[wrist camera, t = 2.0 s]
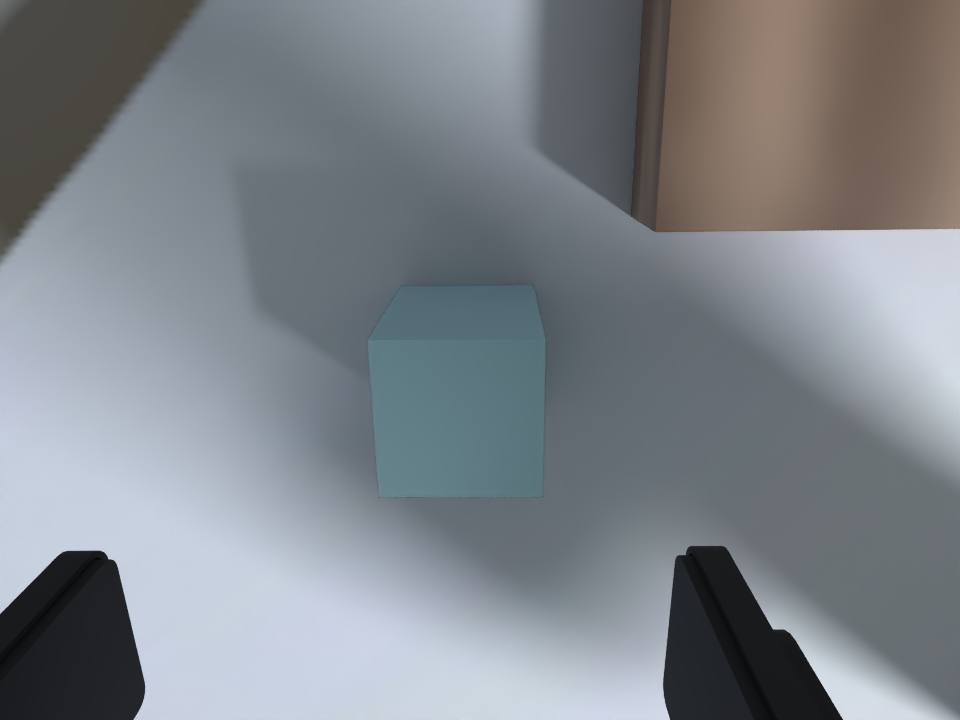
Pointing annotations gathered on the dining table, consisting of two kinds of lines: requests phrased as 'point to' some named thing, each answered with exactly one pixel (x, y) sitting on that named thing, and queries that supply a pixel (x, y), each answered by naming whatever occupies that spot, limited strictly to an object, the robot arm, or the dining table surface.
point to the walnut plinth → (798, 115)
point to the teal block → (459, 392)
